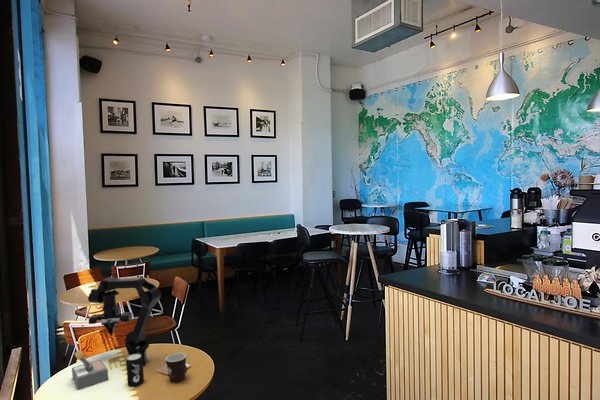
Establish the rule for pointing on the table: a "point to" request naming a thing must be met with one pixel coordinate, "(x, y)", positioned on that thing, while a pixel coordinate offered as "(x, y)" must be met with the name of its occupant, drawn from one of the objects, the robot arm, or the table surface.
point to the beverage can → (135, 370)
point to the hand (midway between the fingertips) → (111, 334)
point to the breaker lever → (83, 359)
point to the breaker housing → (89, 374)
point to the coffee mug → (176, 367)
